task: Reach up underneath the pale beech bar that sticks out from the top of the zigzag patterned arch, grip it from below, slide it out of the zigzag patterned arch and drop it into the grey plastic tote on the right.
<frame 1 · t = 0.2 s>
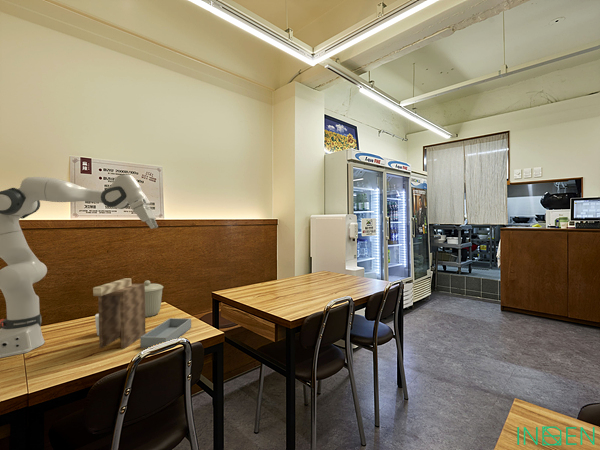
hand: (154, 228, 151), 54 cm above the table, tool tilted 30°, fingers open, 8 cm apart
tote: (168, 337, 147), on the table
canister: (147, 314, 182), on the table
bar: (113, 290, 136), point 26 cm above the table, touching zigzag patterned arch
zigzag patterned arch: (123, 341, 143), on the table
white cup: (104, 333, 153), on the table
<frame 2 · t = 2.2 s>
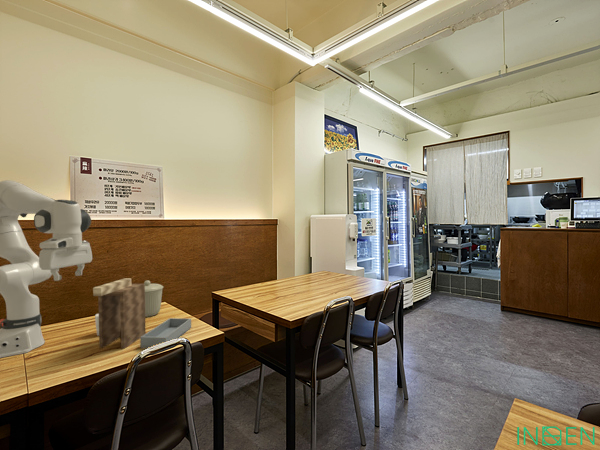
hand: (68, 277, 114), 36 cm above the table, tool pointing down, fingers open, 8 cm apart
nothing on the table moved.
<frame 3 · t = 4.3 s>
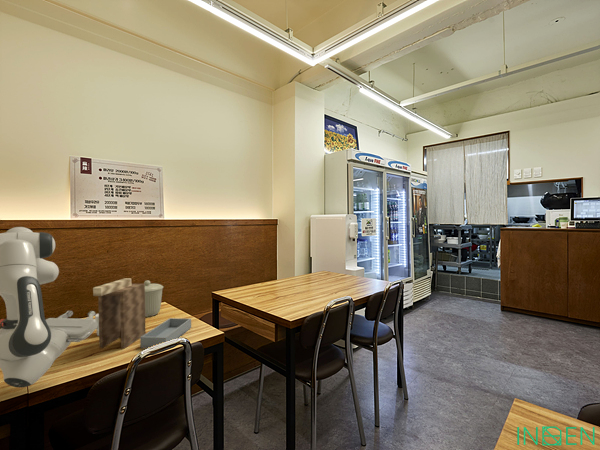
hand: (82, 311, 118), 22 cm above the table, tool pointing upward, fingers open, 8 cm apart
nothing on the table moved.
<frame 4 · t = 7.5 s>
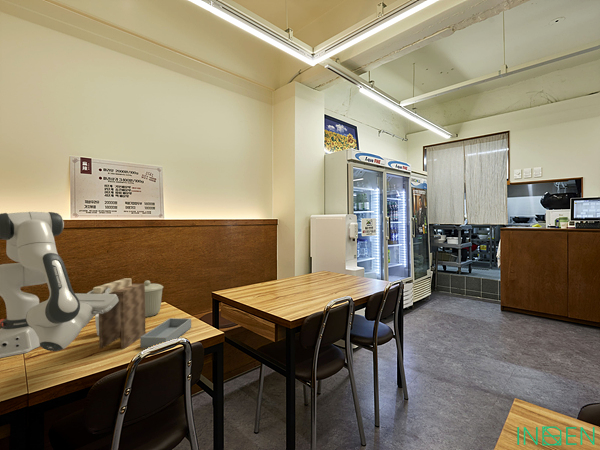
hand: (103, 288, 130), 28 cm above the table, tool pointing upward, fingers closed on bar, 3 cm apart
bar: (113, 290, 136), point 26 cm above the table, touching gripper, zigzag patterned arch
everything else where it was.
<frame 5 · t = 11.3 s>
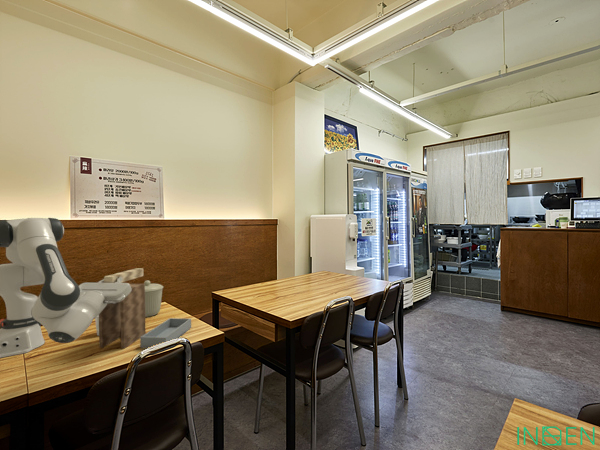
hand: (115, 277, 122), 35 cm above the table, tool pointing upward, fingers closed on bar, 3 cm apart
bar: (125, 280, 128), point 32 cm above the table, touching gripper
everything else where it was.
when the fingers open (19 cm above the table, at t = 14.8 s): bar drops 16 cm, resting on tote.
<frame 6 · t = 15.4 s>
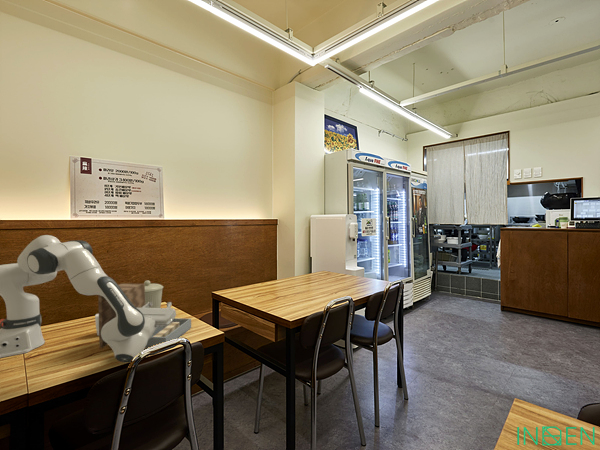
hand: (160, 302, 141), 19 cm above the table, tool pointing upward, fingers open, 8 cm apart
bar: (166, 336, 146), point 1 cm above the table, touching tote
everything else where it was.
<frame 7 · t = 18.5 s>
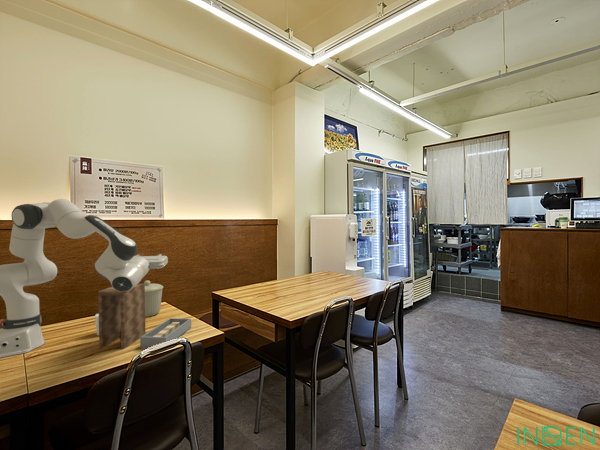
hand: (150, 255, 145), 41 cm above the table, tool pointing upward, fingers open, 8 cm apart
nothing on the table moved.
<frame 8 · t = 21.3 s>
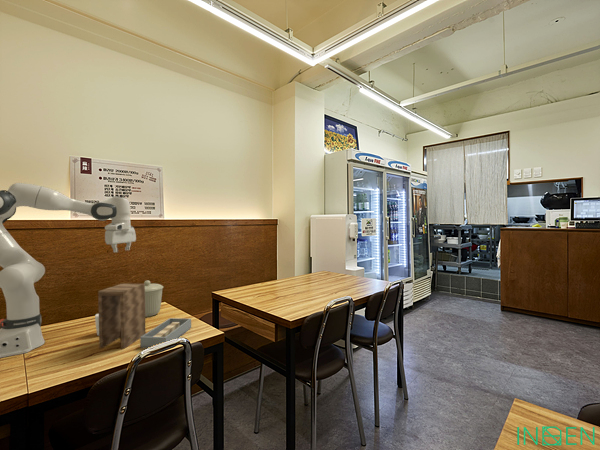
hand: (121, 251, 163), 41 cm above the table, tool pointing down, fingers open, 8 cm apart
nothing on the table moved.
at the end: bar 0.9 cm from the tote (horizontally); bar point 0.8 cm above the table; the gripper is holding nothing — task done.
